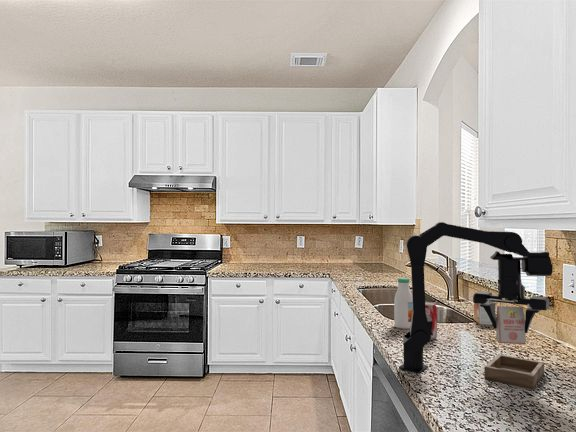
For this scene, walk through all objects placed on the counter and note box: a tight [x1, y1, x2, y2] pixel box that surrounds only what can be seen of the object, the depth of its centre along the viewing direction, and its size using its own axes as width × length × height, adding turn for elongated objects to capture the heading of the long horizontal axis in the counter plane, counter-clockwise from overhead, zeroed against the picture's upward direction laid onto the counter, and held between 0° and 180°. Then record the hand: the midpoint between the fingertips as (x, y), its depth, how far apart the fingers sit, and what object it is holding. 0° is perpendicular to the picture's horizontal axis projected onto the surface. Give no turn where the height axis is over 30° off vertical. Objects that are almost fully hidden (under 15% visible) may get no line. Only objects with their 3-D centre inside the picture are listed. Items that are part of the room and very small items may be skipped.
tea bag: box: [495, 305, 527, 345], centre depth 124 cm, size 4×7×10 cm, turn 76°
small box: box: [473, 303, 493, 326], centre depth 185 cm, size 8×6×10 cm
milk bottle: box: [393, 277, 413, 330], centre depth 179 cm, size 8×8×20 cm
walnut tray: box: [483, 353, 545, 391], centre depth 122 cm, size 14×12×4 cm
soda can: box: [425, 301, 438, 341], centre depth 162 cm, size 7×7×13 cm
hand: (510, 330), depth 123 cm, fingers closed on tea bag, 8 cm apart
